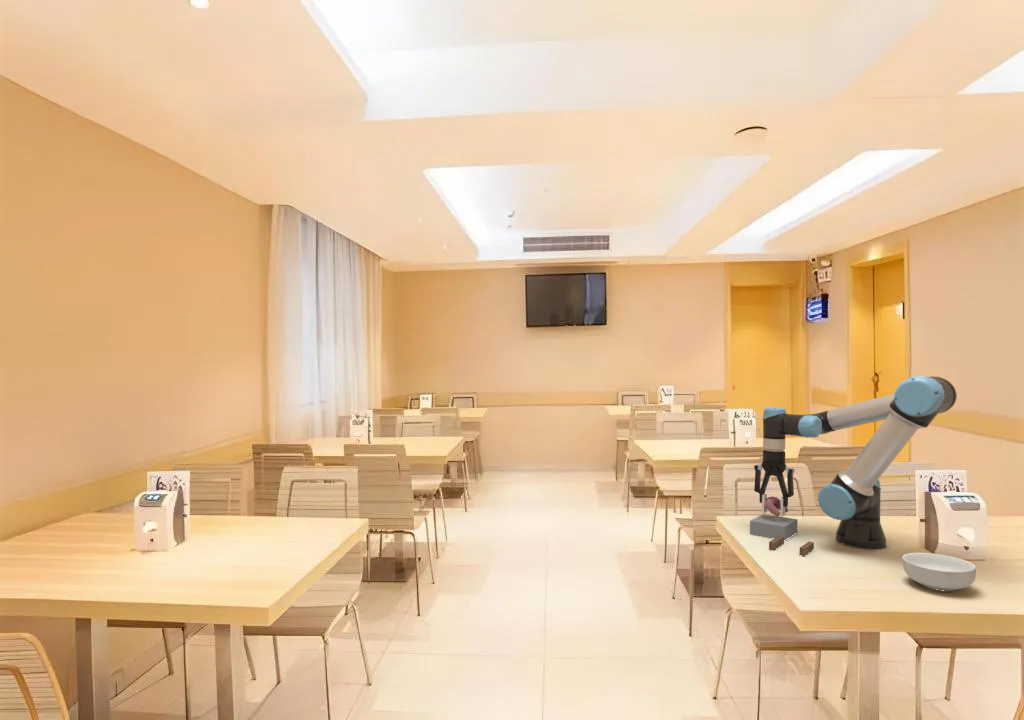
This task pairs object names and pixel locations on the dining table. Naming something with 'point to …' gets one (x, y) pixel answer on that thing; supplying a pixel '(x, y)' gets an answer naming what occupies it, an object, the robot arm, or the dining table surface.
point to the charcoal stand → (773, 526)
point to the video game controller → (774, 505)
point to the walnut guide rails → (780, 540)
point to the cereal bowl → (939, 571)
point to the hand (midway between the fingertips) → (773, 513)
